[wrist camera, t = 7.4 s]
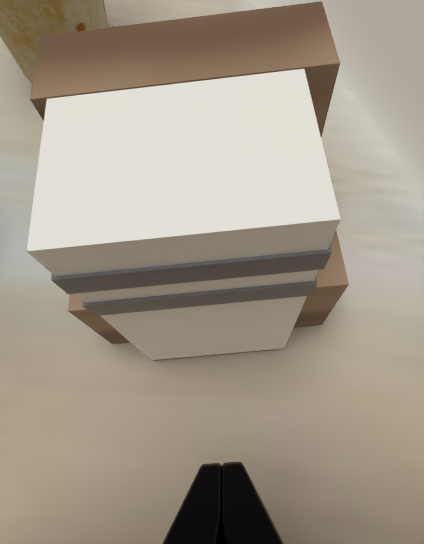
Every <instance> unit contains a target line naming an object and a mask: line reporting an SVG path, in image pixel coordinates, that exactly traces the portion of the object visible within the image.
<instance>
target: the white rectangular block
mask: <svg viewBox="0 0 424 544" xmlns="http://www.w3.org/2000/svg"><path fill="white" fill-rule="evenodd" d="M339 222H340V215H339V211H338V206H337V202H336V198H335V194H334V190H333V186H332V182H331V177H330V173H329V169H328V165H327V161H326V157H325V153H324V148H323V144H322V140H321V136H320V132H319V128H318V124H317V119H316V115H315V111H314V107H313V103H312V99H311V94H310V90H309V86H308V82H307V78H306V74H305V70H304V69H297V70H289V71H280V72H272V73H263V74H255V75H246V76H238V77H229V78H221V79H212V80H203V81H195V82H186V83H178V84H169V85H161V86H152V87H144V88H135V89H127V90H118V91H110V92H101V93H93V94H84V95H75V96H67V97H58V98H50V99H47V101H46V108H45V116H44V123H43V131H42V139H41V146H40V154H39V161H38V169H37V176H36V184H35V192H34V199H33V207H32V214H31V222H30V229H29V237H28V245H27V252H28V253H29V254H30V255H31V256H33V257H34V258H35V259H36V260H37V261H38V262H39V263H41V264H42V265H43V266H44V267H45V268H46V269H47V270H49V271H50V272H51V273H52V281H53V282H54V283H55V284H57V285H58V286H59V287H60V288H61V289H63V290H64V291H65V292H66V293H67V294H76V295H77V296H78V297H79V298H80V299H82V300H83V302H82V306H83V307H84V308H85V309H86V310H88V311H89V312H90V313H91V314H92V315H94V316H101V317H102V318H103V319H104V320H106V321H107V322H108V323H109V324H110V325H111V326H112V327H114V328H115V329H116V330H117V331H118V332H119V333H120V334H122V335H123V336H124V337H125V338H126V339H127V340H128V341H129V342H131V343H132V344H133V345H134V346H135V347H136V348H137V349H139V350H140V351H141V352H142V353H143V354H144V355H145V356H147V357H148V358H149V359H150V360H160V359H171V358H182V357H193V356H204V355H216V354H227V353H238V352H249V351H260V350H271V349H282V348H285V346H286V343H287V341H288V339H289V337H290V334H291V332H292V330H293V327H294V325H295V323H296V320H297V318H298V316H299V314H300V311H301V309H302V307H303V304H304V302H305V300H306V297H307V296H311V295H312V294H313V292H314V290H315V288H316V285H317V279H316V275H317V272H318V270H322V269H324V268H325V266H326V264H327V262H328V260H329V258H330V255H331V253H332V251H331V246H330V242H331V240H332V238H333V235H334V233H335V231H336V229H337V226H338V224H339Z"/></svg>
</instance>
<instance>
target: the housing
mask: <svg viewBox="0 0 424 544" xmlns="http://www.w3.org/2000/svg"><path fill="white" fill-rule="evenodd" d="M339 65H340V61H339V58H338V54H337V51H336V48H335V44H334V41H333V38H332V34H331V31H330V28H329V24H328V20H327V17H326V14H325V10H324V7H323V4H322V2H314V3H306V4H298V5H289V6H282V7H273V8H265V9H257V10H249V11H241V12H233V13H225V14H216V15H208V16H200V17H192V18H184V19H176V20H168V21H160V22H152V23H144V24H136V25H127V26H119V27H111V28H103V29H95V30H87V31H79V32H71V33H63V34H55V35H46V36H40V40H39V46H38V53H37V59H36V66H35V72H34V78H33V85H32V91H31V98H30V100H31V101H32V103H33V104H34V106H35V108H36V109H37V111H38V112H39V114H40V116H41V117H42V119H43V121H44V116H45V108H46V101H47V99H50V98H58V97H67V96H75V95H84V94H93V93H101V92H110V91H118V90H127V89H135V88H144V87H152V86H161V85H169V84H178V83H186V82H195V81H203V80H212V79H221V78H229V77H238V76H246V75H255V74H263V73H272V72H280V71H289V70H297V69H304V70H305V74H306V78H307V82H308V86H309V90H310V94H311V99H312V103H313V107H314V111H315V115H316V119H317V124H318V128H319V132H320V136H322V132H323V128H324V124H325V120H326V116H327V112H328V109H329V105H330V101H331V97H332V93H333V89H334V85H335V81H336V77H337V73H338V69H339ZM330 246H331V251H332V253H331V255H330V258H329V260H328V262H327V264H326V266H325V268H324V269H322V270H318V272H317V275H316V279H317V285H316V288H315V290H314V292H313V294H312V295H311V296H307V297H306V300H305V302H304V304H303V307H302V309H301V311H300V314H299V316H298V318H297V320H296V323H295V325H294V327H300V326H311V325H322V324H323V322H324V321H325V319H326V318H327V316H328V315H329V313H330V312H331V310H332V309H333V307H334V306H335V304H336V303H337V301H338V300H339V298H340V297H341V295H342V294H343V292H344V291H345V289H346V288H347V286H348V285H349V284H348V280H347V275H346V271H345V267H344V262H343V258H342V254H341V249H340V245H339V241H338V237H337V232H336V231H335V233H334V235H333V238H332V240H331V242H330ZM82 302H83V300H82V299H80V298H79V297H78V296H77V295H76V294H70V296H69V309H68V311H69V312H70V313H71V314H73V315H74V316H75V317H77V318H78V319H80V320H81V321H82V322H84V323H85V324H86V325H88V326H89V327H90V328H92V329H93V330H94V331H96V332H97V333H98V334H100V335H101V336H102V337H104V338H105V339H106V340H108V341H109V342H110V343H112V344H115V343H126V342H129V341H128V340H127V339H126V338H125V337H124V336H123V335H122V334H120V333H119V332H118V331H117V330H116V329H115V328H114V327H112V326H111V325H110V324H109V323H108V322H107V321H106V320H104V319H103V318H102V317H101V316H94V315H92V314H91V313H90V312H89V311H88V310H86V309H85V308H84V307H83V306H82Z"/></svg>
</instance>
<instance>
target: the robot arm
mask: <svg viewBox="0 0 424 544" xmlns="http://www.w3.org/2000/svg"><path fill="white" fill-rule="evenodd" d="M163 544H284V543H283V541H282V539H281V537H280V535H279V534H278V532H277V530H276V528H275V526H274V524H273V522H272V520H271V518H270V516H269V514H268V512H267V510H266V508H265V506H264V504H263V502H262V500H261V498H260V496H259V495H258V493H257V491H256V489H255V487H254V485H253V483H252V481H251V479H250V477H249V475H248V473H247V471H246V469H245V467H244V465H243V464H242V463H241V462H228V463H224V464H223V465H221V464H219V463H212V464H203V465H202V466H201V467H200V469H199V471H198V473H197V475H196V477H195V479H194V481H193V483H192V485H191V487H190V489H189V491H188V493H187V495H186V497H185V499H184V501H183V503H182V505H181V507H180V509H179V511H178V513H177V515H176V517H175V519H174V521H173V523H172V525H171V527H170V530H169V532H168V534H167V536H166V538H165V540H164V542H163Z"/></svg>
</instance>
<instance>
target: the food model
mask: <svg viewBox="0 0 424 544" xmlns="http://www.w3.org/2000/svg"><path fill="white" fill-rule="evenodd" d="M103 28H109V27H108V22H107V17H106V11H105V5H104V0H0V36H1V38H2V39H3V41H4V43H5V44H6V46H7V47H8V49H9V51H10V52H11V54H12V55H13V57H14V58H15V60H16V61H17V63H18V65H19V66H20V68H21V69H22V71H23V72H24V74H25V76H26V77H27V78H28V79H29V81H30V82H31V83H32V84H33V78H34V72H35V66H36V59H37V53H38V46H39V40H40V36H46V35H55V34H63V33H71V32H79V31H87V30H95V29H103Z"/></svg>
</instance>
